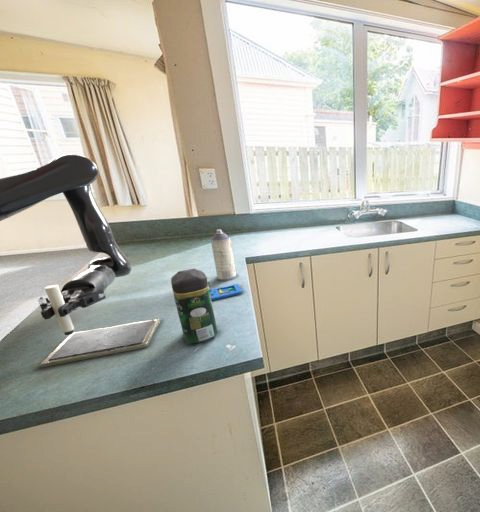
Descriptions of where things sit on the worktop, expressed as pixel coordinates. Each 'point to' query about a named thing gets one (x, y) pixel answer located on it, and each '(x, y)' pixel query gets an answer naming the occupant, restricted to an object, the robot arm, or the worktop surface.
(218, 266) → the aerosol can
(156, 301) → the worktop surface
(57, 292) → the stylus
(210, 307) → the coffee jar
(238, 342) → the worktop surface
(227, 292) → the handheld gaming device
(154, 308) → the worktop surface
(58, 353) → the chalkboard
